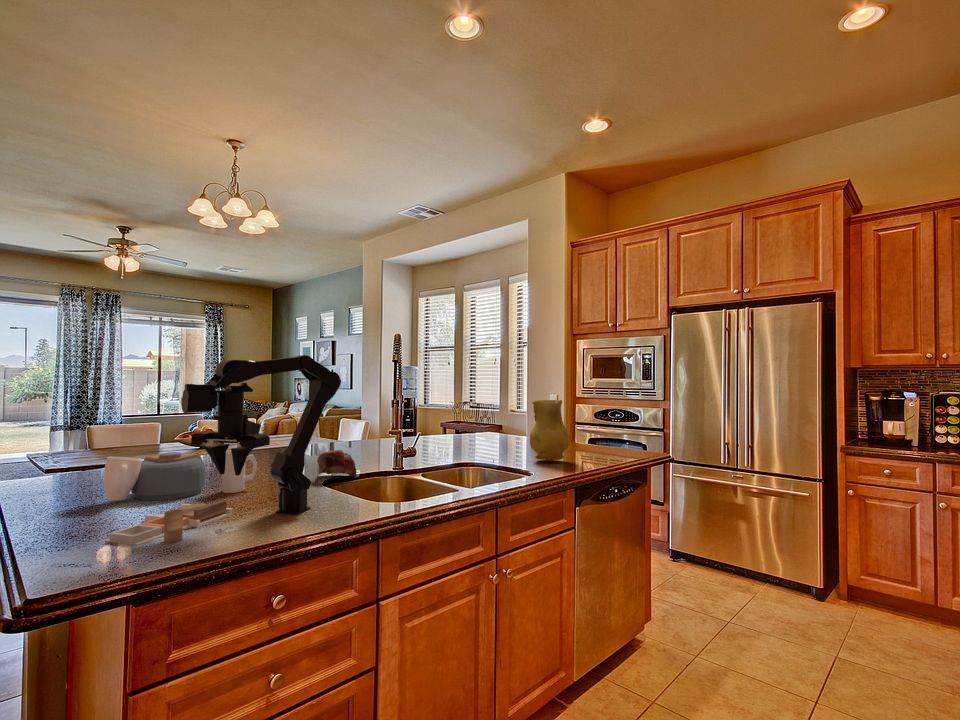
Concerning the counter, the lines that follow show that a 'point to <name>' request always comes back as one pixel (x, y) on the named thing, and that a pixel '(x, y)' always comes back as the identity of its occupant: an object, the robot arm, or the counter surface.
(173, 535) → the peg
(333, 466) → the reddish brown lump
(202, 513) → the lid
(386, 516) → the counter surface
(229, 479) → the mug
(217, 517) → the housing base
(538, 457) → the pitcher
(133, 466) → the mug
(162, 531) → the board
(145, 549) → the counter surface
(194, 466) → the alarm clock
